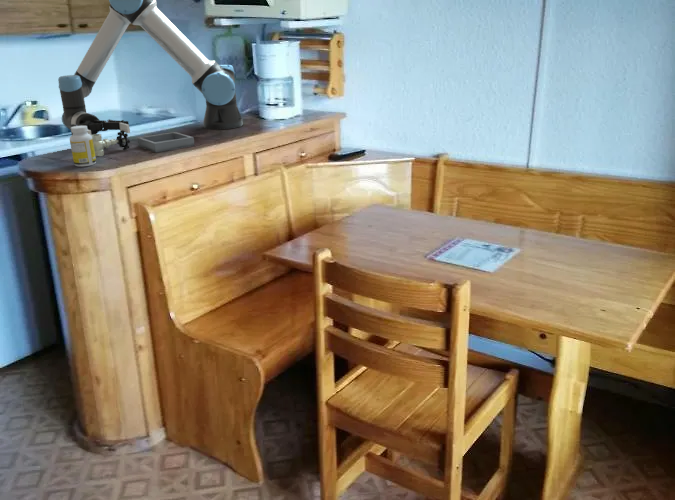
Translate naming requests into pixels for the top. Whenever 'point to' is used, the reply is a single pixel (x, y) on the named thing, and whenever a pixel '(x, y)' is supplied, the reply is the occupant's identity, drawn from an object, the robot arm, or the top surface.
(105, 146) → the valve
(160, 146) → the parts tray
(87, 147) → the pill bottle
